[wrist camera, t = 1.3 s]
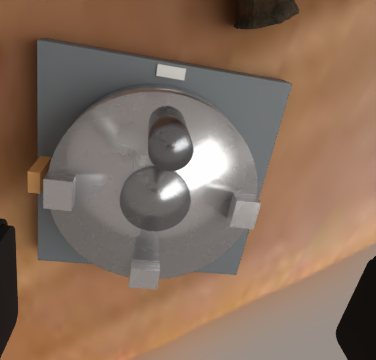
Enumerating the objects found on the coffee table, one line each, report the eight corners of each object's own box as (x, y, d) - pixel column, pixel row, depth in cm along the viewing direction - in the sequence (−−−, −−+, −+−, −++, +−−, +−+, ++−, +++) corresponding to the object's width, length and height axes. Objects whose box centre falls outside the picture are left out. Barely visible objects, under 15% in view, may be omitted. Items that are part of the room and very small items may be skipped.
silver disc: (55, 248, 29) (24, 323, 22) (59, 67, 23) (18, 89, 16) (224, 262, 32) (246, 334, 25) (268, 101, 26) (314, 134, 18)
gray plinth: (44, 246, 32) (26, 283, 27) (45, 38, 24) (21, 42, 20) (231, 261, 35) (243, 297, 30) (282, 79, 27) (308, 91, 23)
